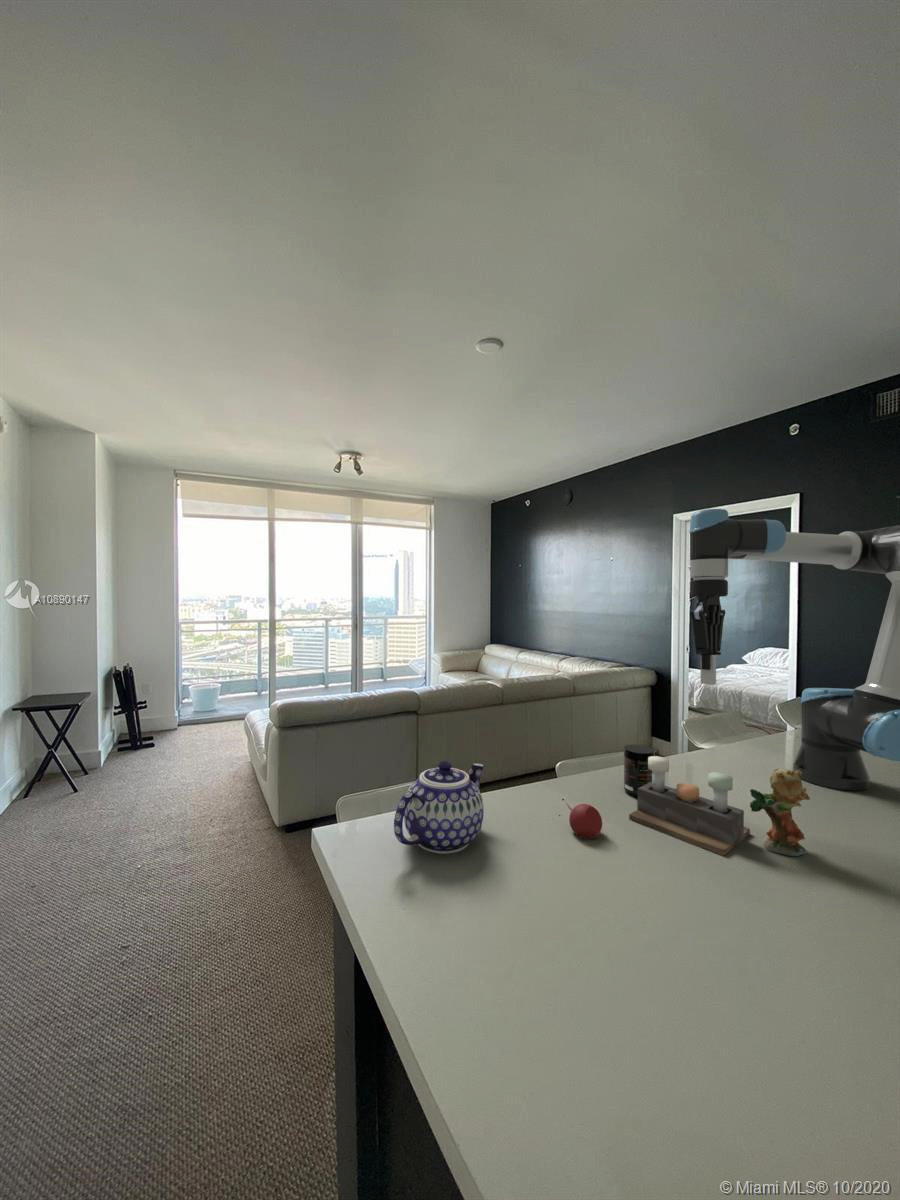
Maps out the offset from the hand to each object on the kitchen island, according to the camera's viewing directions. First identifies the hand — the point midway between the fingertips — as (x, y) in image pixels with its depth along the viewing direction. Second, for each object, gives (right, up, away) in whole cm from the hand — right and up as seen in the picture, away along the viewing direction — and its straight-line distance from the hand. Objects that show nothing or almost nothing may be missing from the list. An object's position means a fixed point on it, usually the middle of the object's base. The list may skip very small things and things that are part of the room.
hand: (708, 683), depth 106 cm
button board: (-11, -26, -12) cm, 31 cm away
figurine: (+2, -27, -20) cm, 33 cm away
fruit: (-33, -27, -14) cm, 44 cm away
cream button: (-14, -21, -7) cm, 27 cm away
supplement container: (-14, -27, +4) cm, 30 cm away
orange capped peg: (-11, -25, -12) cm, 30 cm away
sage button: (-7, -21, -17) cm, 28 cm away
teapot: (-59, -26, -18) cm, 67 cm away
